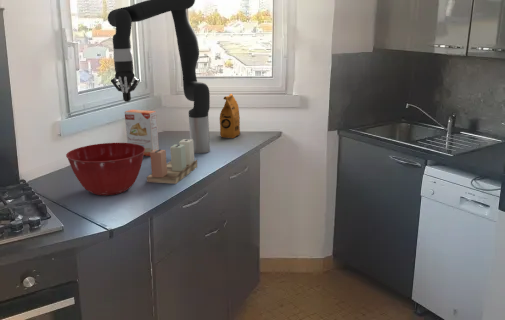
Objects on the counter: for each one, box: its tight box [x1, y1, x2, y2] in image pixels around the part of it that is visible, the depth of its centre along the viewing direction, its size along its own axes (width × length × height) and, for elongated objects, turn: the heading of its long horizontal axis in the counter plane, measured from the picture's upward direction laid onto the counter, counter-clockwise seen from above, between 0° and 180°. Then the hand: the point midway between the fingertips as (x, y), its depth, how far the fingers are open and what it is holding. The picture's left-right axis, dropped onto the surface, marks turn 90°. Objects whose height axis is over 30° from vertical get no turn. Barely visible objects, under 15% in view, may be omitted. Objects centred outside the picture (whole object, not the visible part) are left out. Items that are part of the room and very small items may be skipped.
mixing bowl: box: [65, 142, 145, 196], centre depth 194 cm, size 28×28×16 cm
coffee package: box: [219, 93, 241, 139], centre depth 274 cm, size 10×12×22 cm
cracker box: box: [124, 109, 160, 157], centre depth 242 cm, size 14×6×21 cm, turn 68°
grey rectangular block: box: [178, 138, 195, 165], centre depth 219 cm, size 4×4×10 cm
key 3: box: [149, 148, 168, 177], centre depth 203 cm, size 4×4×10 cm
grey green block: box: [169, 143, 186, 171], centre depth 210 cm, size 4×4×10 cm
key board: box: [146, 159, 198, 185], centre depth 213 cm, size 23×12×3 cm, turn 165°
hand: (127, 101), depth 216 cm, fingers closed
